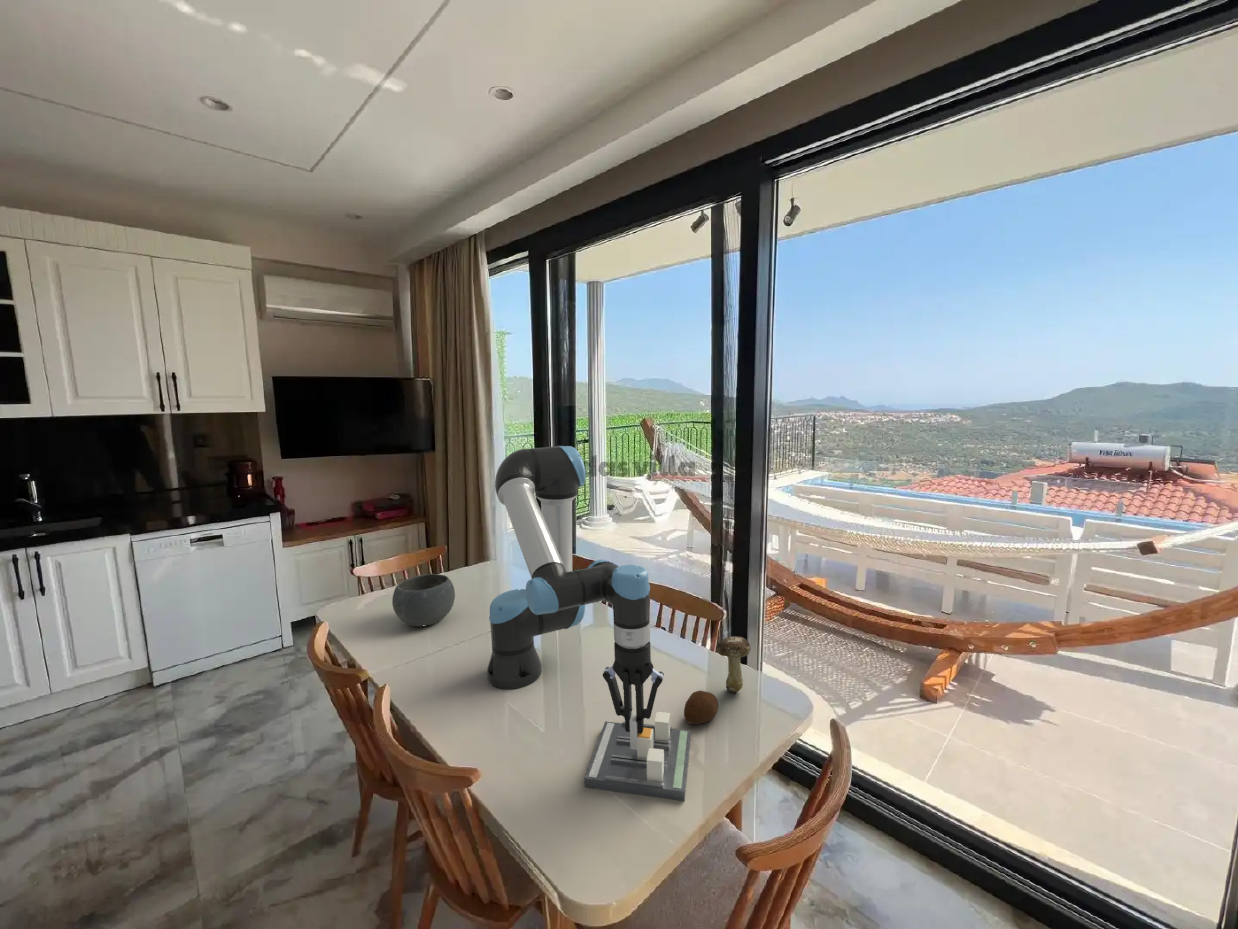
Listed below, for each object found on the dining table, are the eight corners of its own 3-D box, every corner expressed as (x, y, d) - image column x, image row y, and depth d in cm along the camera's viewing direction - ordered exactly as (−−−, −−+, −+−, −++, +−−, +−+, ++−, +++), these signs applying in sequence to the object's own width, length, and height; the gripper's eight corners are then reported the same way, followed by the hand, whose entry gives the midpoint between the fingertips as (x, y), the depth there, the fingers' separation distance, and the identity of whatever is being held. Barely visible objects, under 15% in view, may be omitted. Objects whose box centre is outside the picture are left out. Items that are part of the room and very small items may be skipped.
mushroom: (730, 706, 126) (731, 650, 124) (709, 689, 134) (709, 635, 132) (759, 695, 131) (760, 640, 129) (737, 679, 138) (737, 627, 136)
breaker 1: (655, 740, 112) (654, 721, 111) (657, 729, 115) (656, 711, 114) (668, 741, 111) (668, 723, 110) (670, 731, 114) (670, 713, 114)
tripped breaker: (637, 757, 106) (636, 736, 106) (639, 746, 110) (639, 726, 109) (651, 759, 106) (650, 738, 105) (653, 748, 109) (653, 727, 109)
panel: (584, 787, 102) (584, 775, 101) (605, 729, 119) (605, 719, 119) (684, 801, 98) (684, 788, 97) (690, 738, 115) (690, 728, 115)
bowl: (469, 617, 182) (466, 577, 180) (419, 641, 165) (416, 597, 163) (432, 605, 193) (429, 568, 191) (383, 627, 176) (379, 586, 174)
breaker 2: (647, 780, 100) (646, 760, 99) (649, 768, 103) (649, 748, 103) (662, 782, 99) (661, 762, 99) (664, 769, 103) (663, 749, 102)
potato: (726, 715, 123) (727, 688, 122) (701, 736, 116) (701, 708, 115) (703, 703, 128) (703, 677, 127) (677, 722, 121) (677, 695, 120)
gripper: (597, 647, 102) (601, 753, 106) (661, 652, 100) (663, 761, 103) (605, 630, 110) (609, 730, 113) (665, 634, 107) (667, 737, 110)
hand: (634, 745), depth 108 cm, fingers closed
